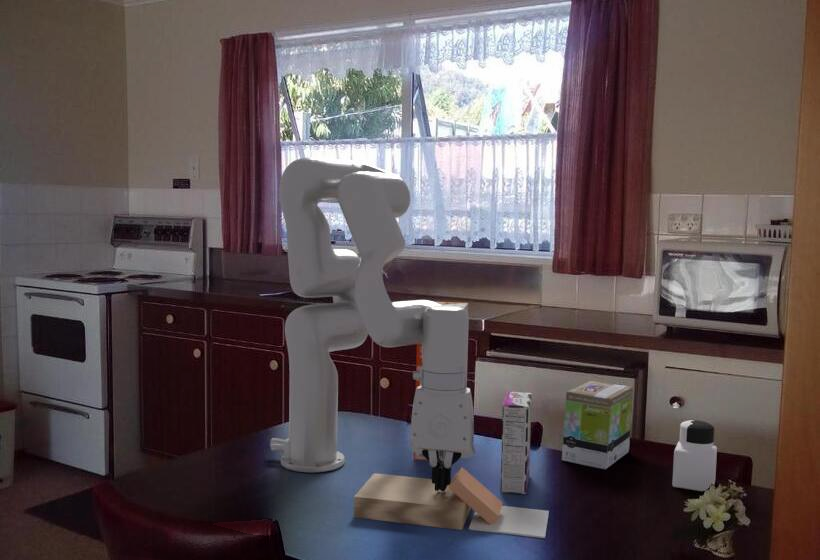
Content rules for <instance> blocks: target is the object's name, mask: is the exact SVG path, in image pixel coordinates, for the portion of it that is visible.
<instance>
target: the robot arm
mask: <svg viewBox="0 0 820 560" xmlns="http://www.w3.org/2000/svg"><path fill="white" fill-rule="evenodd" d="M279 181H280V182H279V189H278V193H279V203H280V206H281V210H282V211H281V212H282V214H283V215H282V216H283V218H284V223H285V226H286V229H285V230H286V246H287V259H288V260H287V261H288V273H289V283H290V286H291V289H292V292H293V293H294V294H295V295H297V296H299V297H300V298H301V297H302V298H311V299H313V298H327V297H332V302H333V303H331V302H330V303H317V304H308V305H302V306H299V307H297V308H295V309H294V310H292V311H291V312H290V313H289V314H288V315H287V317H286V320H285V323H284V334H285V341H286V347H287V353H288V354H287V355H288V364H289V365H288V366H289V382H288V383H289V399H288V402H289V405H288V406H289V408H288V409H289V411H288V413H289V415H288V418H289V419H288V421H289V422H288V438H286V439H282V438H277V437H271V439H270V442H269V443H270V445H269V446H270V449H271V451H273V452H274V451H275V452H282V453H283V454H282V455H281V456H280V465H281V466H282V467H283V468H285V469H287V470H290V471H293V472H300V473H324V472H329V471H333V470H334V471H335V470H336V469H337V470H338V469H339V468H341V467H343V465H344V464H345V455H344V454H343V453H341V452H340V451H338V414H339V413H338V411H339V410H338V409H339V407H338V406H339V403H338V402H339V400H338V399H339V398H338V397H339V374H338V370H337V367H336V365H335V363H334V361H333V360H332V358H331V356H330V353H331V352H335V351H336V352H337V351H342V350H350V349H355V348H358V347H360V346H361V345H363V344H364V342H365V341H366V340H367V337H368V336H369V337H370V339H371V340H372V341H373V342H374V343H375V344H376V345H378V346H381V347H383V348H397V347H402V346H411V345H417V344H421V343H422V369H421V370H420V371H418V372H417V371H413V372H412V379H413V380H416V379H417V380H419V381H420V385H421V386H419V387H417V388H416V387H415V392H414V397H413V402H412V403H413V404H412V412H411V413H412V414H411V422H410V432H409V433H410V436H409V440H410V441H409V442H410V449H409V450H410V451H411V452H413V453H414V452H416V453H418V454H422V455H423V456H424V457H425V458H426V459H427V460H428V461H427V462H429V465H430V466H431V479H432V484H435V491H438V490H441V491H445V489H446V488H447V485H449V484H450V483H451V481H452V466H453V465H454V464H455V463H457V462H458V461H459V460H460V459H467V458H473V457H474V455H475V452H476V451H475V448H474V443H473V442H474V438H475V437H474V436H475V434H474V433H475V429H474V428H475V425H474V424H475V423H474V418H475V417H474V404H473V398H472V391H471V388H470V387H467V386H468V385H467V384H468V359H469V358H468V355H469V354H468V351H469V329H470V328H469V326H470V325H469V321H470V320H469V318H470V315H469V311H468V312H467V310H466V309H464V308H462V307H459V306H452V305H441V304H438V303H436V302H437V301H433V300H428V299H415V300H414V299H413V300H400V301H392V300H391V299H390V297H389V294H388V292H387V289H386V287H385V283H384V277H383V270H384V266H385V265H386V264H388V263H390V262H391V261H392V260H394V259H395V258H397V257H398V256H399V255H400V254H401V253H403V251H404V249H405V246H406V240H405V237H404V235H403V233H402V229H401V227H400V226H399V223H398V221H397V219H398V218H400V217H403V215H405V214H406V213H407V212H408V209H409V207H410V203H411V194H410V193H411V192H410V190H409V186H408V185H407V183H406V182H405V180H404V179H403V178H402V177H400V176H399V175H397V174H395V173H394V172H391V171H387V170H384V169H381V168H379V167H376V166H373V165H371V164H368V163H366V162H361V161H357V160H348V159H335V158H329V157H328V158H327V157H318V156H316V157H315V156H314V157H309V156H308V157H302V158H298V159H296V160H293V161H291V162H290V163H289V164H288V165H287V166H286V168H285V169H284V171H283V173H282V175H281V178H280V180H279ZM320 203H327V204H338V205H339V207H340V210H341V212H342V215H343V217H344V220H345V222H346V225H347V227H348V230H349V233H350V234H351V238H352V239H353V242H354V246H355V247H356V249H357V252H358V254H357V253H356V252H354V251H353V250H350V249H345V248H333V246H332V241H331V228H330V224H329V222H328V219H327V217H326V215H325V214H324V211H322V209H321V208H320V207H319V206H318V204H320ZM439 451H446V455H445V460H444V462H441V460H440V454H439Z"/></svg>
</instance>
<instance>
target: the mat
mask: <svg viewBox="0 0 820 560" xmlns="http://www.w3.org/2000/svg"><path fill="white" fill-rule="evenodd" d="M549 514H550V510H546V509H535V508H528V507H527V508H526V507H517V506H507V505H502V507H501V510H500V513H499V516H498V517H497V518H496V519H495V521H494V522H493V523H492V524H491V525H490V524H489V523H488V522H487V521H486V520H485V519H484V518H482V517H481V516H480V515H479V514H478V513H477V512H476V511H474V513H473V517H472V518H471V522H470V523H469V527H468V530H471V531H477V532H486V533H495V534H504V535H512V536H521V537H529V538H538V539H546V533H547V527H548V521H549V520H548V519H549Z"/></svg>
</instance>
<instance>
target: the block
mask: <svg viewBox="0 0 820 560" xmlns="http://www.w3.org/2000/svg"><path fill="white" fill-rule="evenodd" d="M448 488H449V489H450V490H452V491H453V492H454V493H455V494H456V495H457V496H458V497H460V498H461V499H462V500H463V501H464V502H465V503H466V504H468V505H469V506H470V507H471V509H472V510H473V511H474V512H475V511H476V512H477V513H478V514H479V515H480V516H481V517H482V518H484V519H485V520H486V521H487V522H488V523H489V524H490V525H491V524H492V523H493V522H494V521H495V519H496V518H497V517H498V516H499V513H500V510H501V507H502V506H503V504H504V502H503V501H501V500H500V499H499V498H498V497H497V496H496V495H495V494H493V493H492V492H491V491H490V490H489V489H488V488H487V487H485V486H484V485H483V484H482V483H481V482H480V481H479V480H477V479H476V478H475V477H474V476H473V475H472V474H470V473H469V471H467V470H466V469H465V468H464V467H462V466H461V467H460V469H459V470H458V471H457V472H456V473H455V474H454V476H453V478H451V483H450V484H449V486H448Z"/></svg>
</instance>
